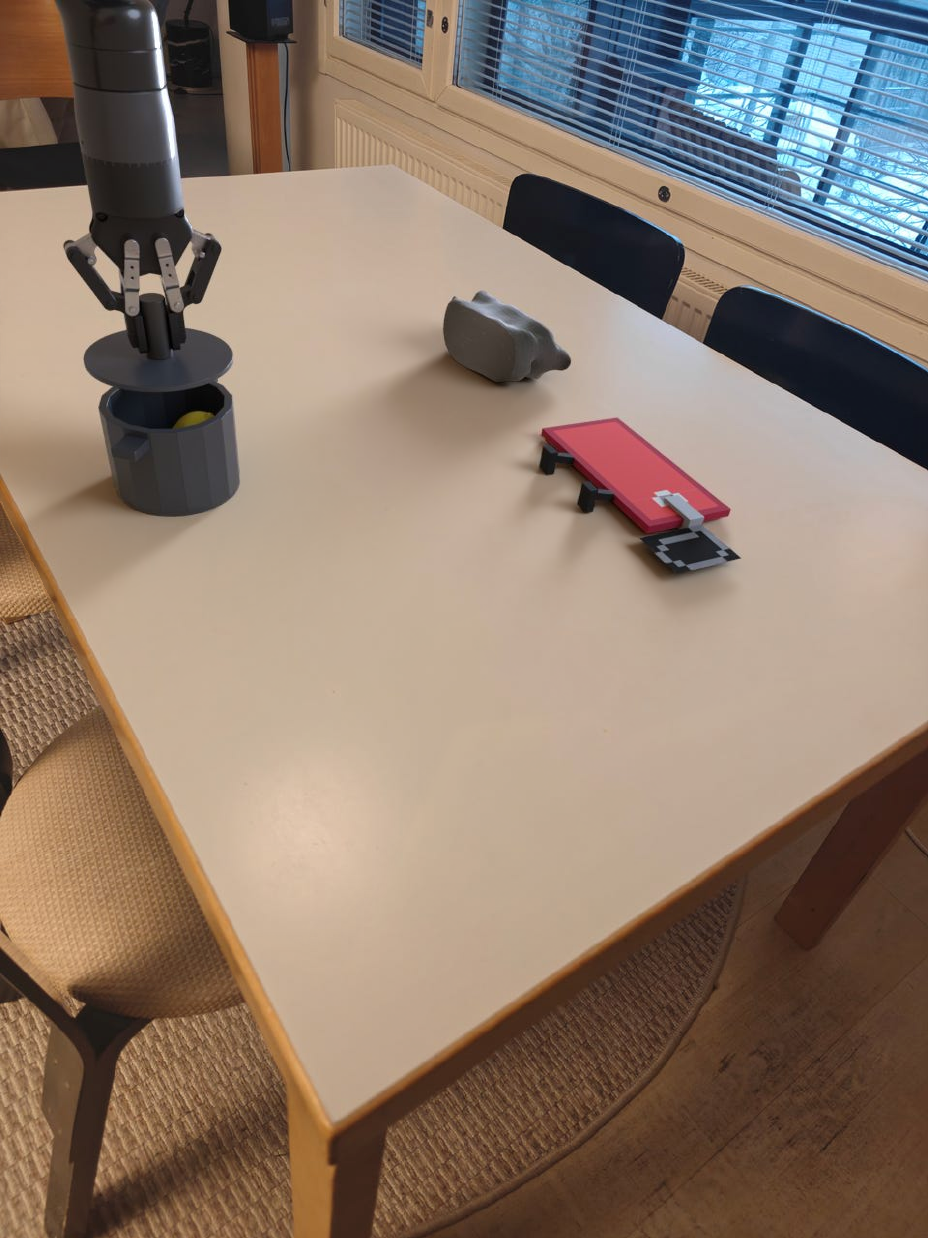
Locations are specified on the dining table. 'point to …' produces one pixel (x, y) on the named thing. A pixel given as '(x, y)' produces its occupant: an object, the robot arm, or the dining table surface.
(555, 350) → the rock
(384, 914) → the dining table surface
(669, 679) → the dining table surface
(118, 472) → the pot
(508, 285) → the dining table surface
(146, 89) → the robot arm
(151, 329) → the pot lid
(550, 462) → the red board with handle
